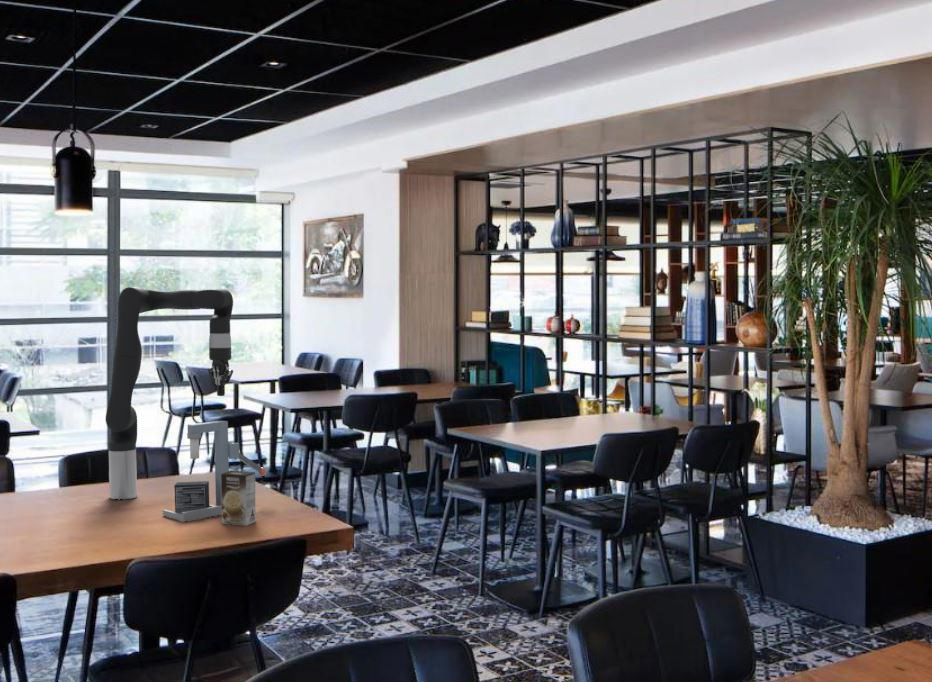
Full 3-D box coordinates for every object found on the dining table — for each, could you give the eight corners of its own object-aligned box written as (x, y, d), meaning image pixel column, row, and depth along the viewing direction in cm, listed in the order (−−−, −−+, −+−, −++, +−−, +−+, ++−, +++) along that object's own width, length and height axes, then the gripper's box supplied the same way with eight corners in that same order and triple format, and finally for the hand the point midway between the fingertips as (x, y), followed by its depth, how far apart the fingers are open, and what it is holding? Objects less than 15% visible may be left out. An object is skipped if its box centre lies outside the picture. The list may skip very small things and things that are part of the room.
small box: (210, 511, 340) (209, 480, 340) (207, 515, 334) (207, 483, 333) (177, 512, 339) (176, 481, 338) (174, 517, 332) (173, 485, 332)
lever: (265, 478, 350) (269, 470, 351) (228, 452, 339) (232, 444, 341) (260, 477, 352) (264, 469, 353) (223, 451, 342) (227, 443, 343)
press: (162, 516, 334) (160, 424, 332) (223, 505, 350) (221, 418, 348) (183, 522, 324) (181, 428, 323) (244, 510, 340) (243, 421, 339)
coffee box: (220, 524, 321) (219, 473, 320) (231, 519, 327) (230, 470, 326) (246, 526, 318) (245, 475, 317) (256, 521, 324) (255, 471, 323)
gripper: (239, 346, 354) (240, 396, 355) (219, 345, 363) (220, 393, 364) (220, 347, 348) (221, 398, 349) (200, 346, 358) (201, 395, 359)
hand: (220, 395), depth 357 cm, fingers closed
